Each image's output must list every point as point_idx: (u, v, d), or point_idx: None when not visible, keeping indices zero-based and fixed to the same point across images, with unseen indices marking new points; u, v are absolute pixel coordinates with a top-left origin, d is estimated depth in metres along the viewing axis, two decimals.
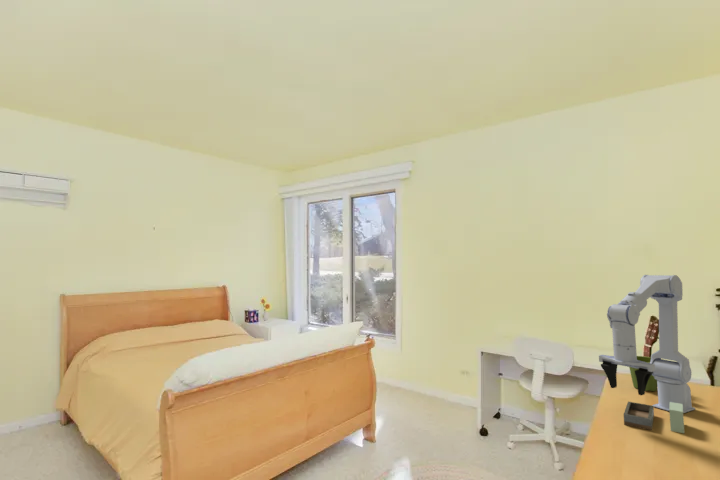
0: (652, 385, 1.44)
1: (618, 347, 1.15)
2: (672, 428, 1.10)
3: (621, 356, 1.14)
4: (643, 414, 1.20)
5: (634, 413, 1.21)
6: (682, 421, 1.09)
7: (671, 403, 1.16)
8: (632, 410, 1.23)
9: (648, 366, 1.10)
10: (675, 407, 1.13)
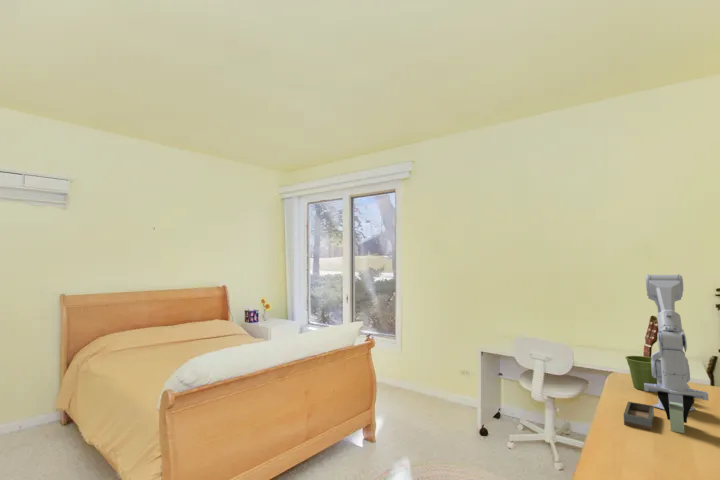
0: None
1: (672, 376, 1.12)
2: (672, 428, 1.10)
3: (676, 385, 1.11)
4: (643, 414, 1.20)
5: (634, 413, 1.21)
6: (682, 421, 1.09)
7: (671, 403, 1.16)
8: (632, 410, 1.23)
9: (704, 395, 1.08)
10: (675, 406, 1.13)
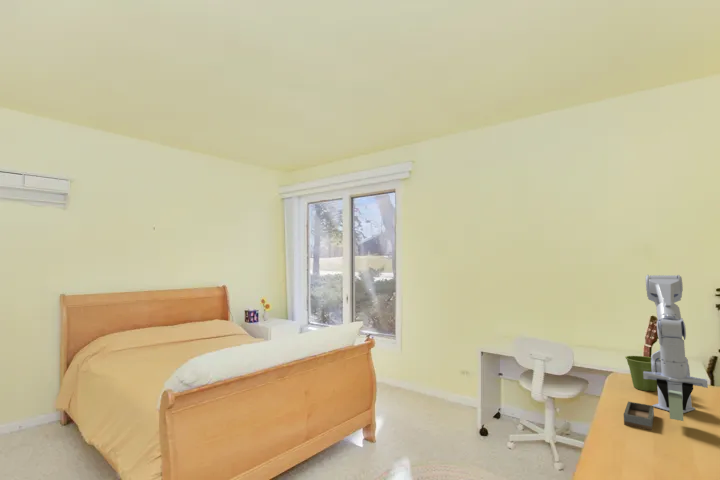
0: (652, 385, 1.44)
1: (671, 364, 1.12)
2: (671, 415, 1.10)
3: (675, 373, 1.11)
4: (643, 414, 1.20)
5: (634, 413, 1.21)
6: (681, 408, 1.09)
7: (670, 391, 1.16)
8: (632, 410, 1.23)
9: (703, 382, 1.09)
10: (674, 395, 1.13)
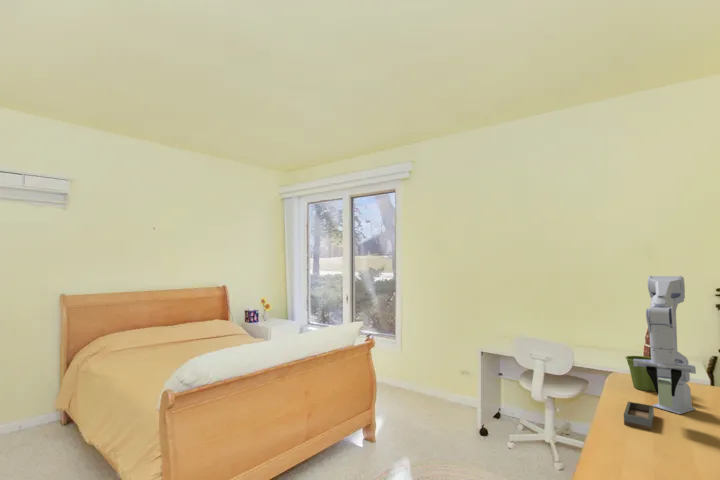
0: (652, 385, 1.44)
1: (660, 351, 1.14)
2: (660, 402, 1.12)
3: (664, 359, 1.13)
4: (643, 414, 1.20)
5: (634, 413, 1.21)
6: (670, 395, 1.11)
7: (660, 378, 1.17)
8: (632, 410, 1.23)
9: (692, 368, 1.10)
10: (663, 381, 1.14)
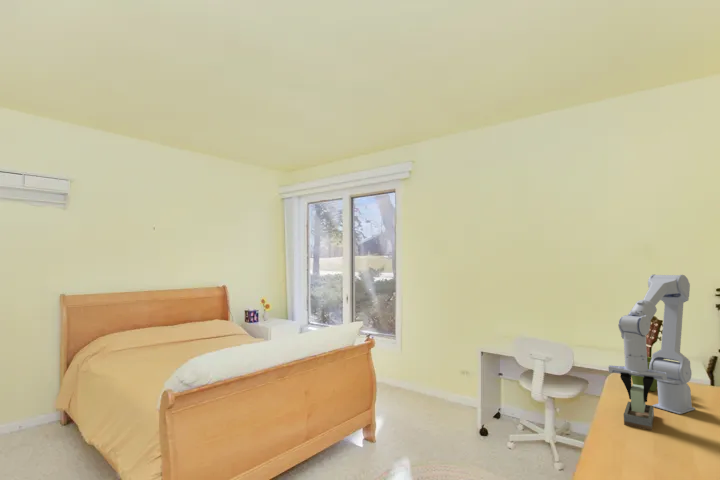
0: (652, 385, 1.44)
1: (633, 358, 1.18)
2: (633, 408, 1.16)
3: (637, 366, 1.17)
4: (643, 414, 1.20)
5: (634, 413, 1.21)
6: (642, 401, 1.15)
7: (634, 385, 1.21)
8: None
9: (663, 375, 1.14)
10: (636, 388, 1.18)
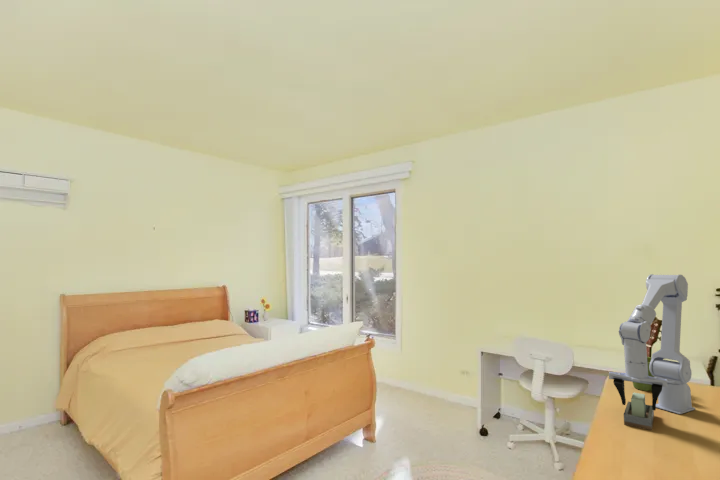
0: None
1: (634, 364, 1.17)
2: None
3: (637, 373, 1.17)
4: None
5: None
6: (642, 410, 1.14)
7: (634, 393, 1.21)
8: None
9: (663, 382, 1.14)
10: (637, 397, 1.18)
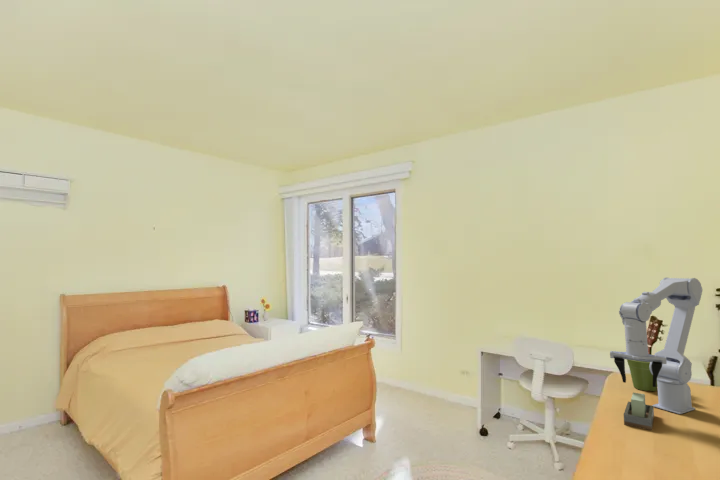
0: (652, 385, 1.44)
1: (634, 343, 1.21)
2: None
3: (637, 351, 1.21)
4: None
5: None
6: (642, 410, 1.14)
7: (634, 393, 1.21)
8: None
9: (663, 359, 1.18)
10: (637, 397, 1.18)
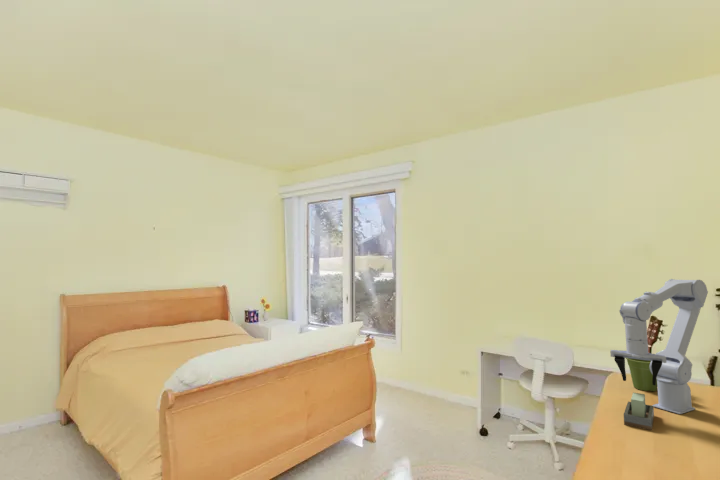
0: (652, 385, 1.44)
1: (634, 342, 1.22)
2: None
3: (638, 350, 1.22)
4: None
5: None
6: (642, 410, 1.14)
7: (634, 393, 1.21)
8: None
9: (663, 358, 1.19)
10: (637, 397, 1.18)
